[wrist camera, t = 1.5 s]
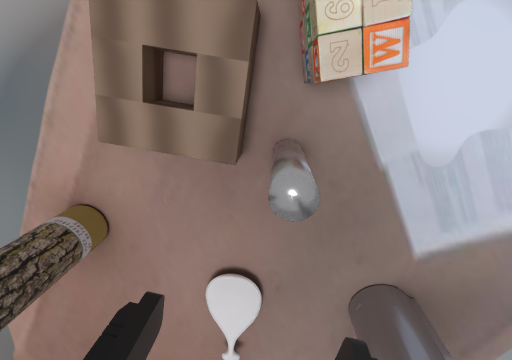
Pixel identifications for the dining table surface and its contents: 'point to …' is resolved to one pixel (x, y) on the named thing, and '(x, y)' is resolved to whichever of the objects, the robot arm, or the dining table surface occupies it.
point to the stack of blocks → (353, 37)
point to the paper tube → (45, 257)
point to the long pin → (292, 183)
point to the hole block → (151, 74)
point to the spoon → (233, 307)
